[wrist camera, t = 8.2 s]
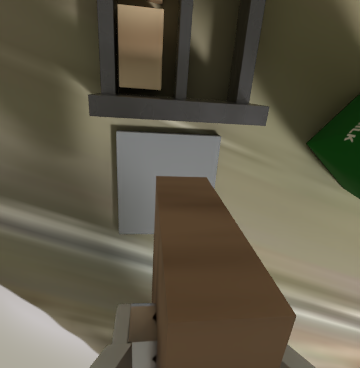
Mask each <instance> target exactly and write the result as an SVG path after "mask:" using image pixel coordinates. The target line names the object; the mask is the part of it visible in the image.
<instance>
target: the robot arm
mask: <svg viewBox="0 0 360 368" xmlns="http://www.w3.org/2000/svg"><path fill="white" fill-rule="evenodd" d="M156 353H157V323H156V303H136V304H118V306H117V311H116V318H115V324H114V331H113V338H112V344H111V345H107V346H106V347H105V349H104V350H103V351H102V352H101V354H100V355H99V356H98V358H97V359H96V360H95V361H94V363H93V364H92V365H91V366H90V368H156ZM280 368H316V367H314V366H313V365H312V364H311V363H309V362H308V361H307V360H306V359H305V358H303V357H302V356H301V355H300V354H298V353H297V352H296V351H295V350H294V349H292V348H291V347H290V346H289V345H287V346H286V349H285V352H284V356H283V359H282V362H281V365H280Z"/></svg>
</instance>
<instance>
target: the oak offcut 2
mask: <svg viewBox="0 0 360 368" xmlns="http://www.w3.org/2000/svg"><path fill="white" fill-rule="evenodd" d="M146 1H150V2H153V3H157V4H160V5H162V1H163V0H146Z"/></svg>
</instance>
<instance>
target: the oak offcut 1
mask: <svg viewBox="0 0 360 368" xmlns="http://www.w3.org/2000/svg"><path fill="white" fill-rule="evenodd" d="M163 22H164V9H157V8H148V7H139V6H130V5H121V4H118V46H119V87H126V88H140V89H154V90H161V75H162V49H163Z"/></svg>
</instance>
